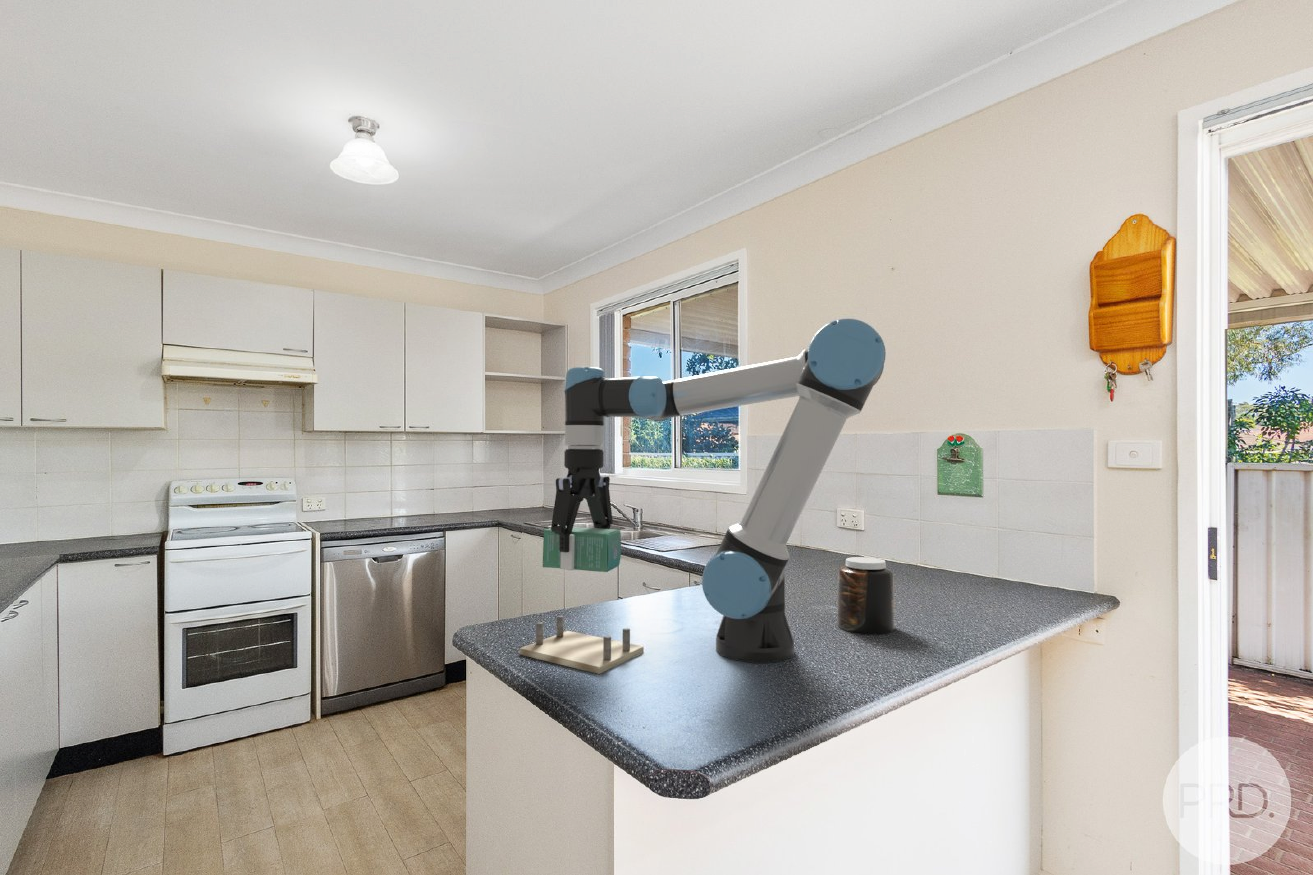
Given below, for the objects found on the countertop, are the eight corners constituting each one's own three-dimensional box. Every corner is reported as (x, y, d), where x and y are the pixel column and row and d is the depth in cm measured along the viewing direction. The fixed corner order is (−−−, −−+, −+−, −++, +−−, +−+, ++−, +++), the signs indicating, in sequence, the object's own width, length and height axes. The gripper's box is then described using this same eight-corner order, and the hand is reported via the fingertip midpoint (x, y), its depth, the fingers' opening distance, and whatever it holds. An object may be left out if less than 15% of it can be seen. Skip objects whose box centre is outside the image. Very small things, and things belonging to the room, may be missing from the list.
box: (608, 573, 117) (608, 532, 117) (541, 568, 120) (542, 529, 121) (621, 566, 124) (622, 527, 124) (558, 562, 127) (558, 525, 128)
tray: (643, 652, 123) (643, 625, 123) (599, 674, 111) (599, 644, 111) (567, 636, 133) (568, 611, 133) (519, 654, 121) (520, 627, 121)
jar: (875, 638, 133) (875, 566, 133) (827, 626, 142) (827, 559, 142) (903, 628, 141) (903, 560, 141) (856, 617, 150) (856, 553, 150)
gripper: (602, 448, 133) (601, 556, 133) (531, 447, 115) (529, 572, 115) (631, 448, 129) (630, 559, 129) (562, 447, 111) (561, 577, 111)
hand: (582, 565), depth 122 cm, fingers closed on box, 8 cm apart
